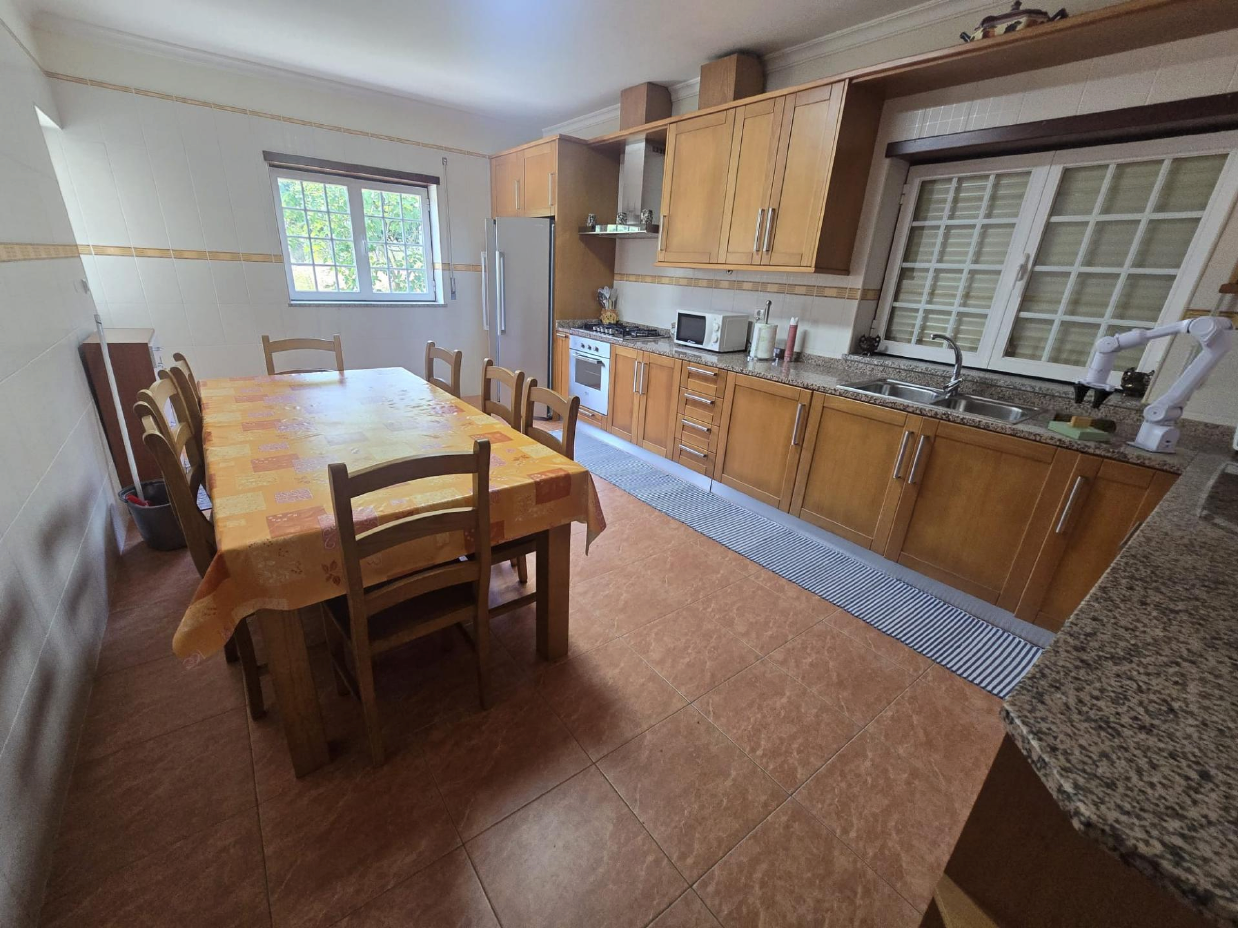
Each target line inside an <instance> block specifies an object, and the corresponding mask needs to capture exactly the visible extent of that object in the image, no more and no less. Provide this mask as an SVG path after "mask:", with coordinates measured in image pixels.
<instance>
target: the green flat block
mask: <svg viewBox="0 0 1238 928" xmlns="http://www.w3.org/2000/svg"><path fill="white" fill-rule="evenodd" d="M1069 425H1070V422H1062V421H1053V420H1050V421H1049V423H1048V425H1047V430H1051V431H1053V432H1055V433H1058V434H1061V435H1063V436H1067V437H1070V438H1072V439H1075V440H1079V441H1081V440H1082V441H1095V442H1107V439H1108V437H1109V435H1110V433H1109V432H1107V431H1102V430H1097V429H1094V428H1093V427H1090V426H1089V428H1083V427H1071V426H1069Z"/></svg>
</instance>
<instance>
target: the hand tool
mask: <svg viewBox="0 0 1238 928" xmlns="http://www.w3.org/2000/svg"><path fill="white" fill-rule="evenodd" d="M1073 416H1075V415H1073V414H1070V413H1061V412H1059V411H1056V412H1055V413H1054V415H1053V417H1052V418H1053V419H1052V421H1057V422H1071V419H1072V417H1073ZM1076 416H1077V415H1076ZM1077 417H1079V416H1077ZM1091 419H1092V420H1091V423H1090V425H1089V427H1093V428H1094V429H1097V430H1100V431H1103V432H1112V433H1115V432H1116V431H1117V427H1118V426H1117V423H1116V421H1115V420H1113V419H1108V418H1101V417H1097V418H1091Z"/></svg>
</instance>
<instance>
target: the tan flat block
mask: <svg viewBox="0 0 1238 928" xmlns="http://www.w3.org/2000/svg"><path fill="white" fill-rule="evenodd" d="M1092 419H1093V418H1092V417H1084V416H1078V417H1077V415H1074V416H1073V417H1072V419H1071V422H1070V425H1069V426H1071V427H1083V428H1089V427H1090V426H1089V425H1090V423H1091V420H1092Z"/></svg>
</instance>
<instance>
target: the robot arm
mask: <svg viewBox="0 0 1238 928" xmlns="http://www.w3.org/2000/svg"><path fill="white" fill-rule="evenodd" d="M1235 330H1236V327H1235V325H1234V323H1233V322H1232V320H1231V319H1230V318H1228V317H1225V316H1211V315H1203V316H1199V317H1193V318H1192V317H1191V318H1188V319H1184V320H1181V321H1177V322H1174V323H1170V324H1166V325H1164V326H1163V325H1162V326H1159V327H1156V328H1152V329H1149V330H1147V329H1146V328H1139V327H1136V328H1135V327H1134V328H1132V329H1131V331H1127V332H1124V333H1123V332H1122V333H1120V332H1118V333H1115V335H1114V336H1110V335H1105V336H1104V337H1101V338H1099V339H1098V340H1097V341H1096V343H1095V349H1096V353H1095V355H1094V358H1093V360H1092V363H1091V365H1090V369H1089V371H1088V373H1087V375H1086V378H1080V377H1077V378H1076V380H1075V384H1073V385H1072V388H1073V390H1074V404H1076V405H1082V404H1083V402H1084V401H1085V398H1086V396H1087V395H1088V393H1089V391H1090V390H1091V389H1092V388H1094V389H1093V401H1092V403H1091V409H1093V410H1099V409H1100V407H1101V406H1102V405H1103V404H1104V403H1105V401H1106V400H1107V399H1109V397H1111V396H1112V395H1114V394H1115V388H1116V385H1114V384H1110V383H1107V382H1108V380H1109V377H1110V374H1111V371H1112V369H1113V367H1114V364H1115V361H1116V359H1117V357H1118V354H1119V353H1120V352H1122V351H1125V350H1129V349H1133V348H1137V347H1142V346H1145V345H1147V344H1149V343H1150V342H1151V340H1155V339H1160V338H1164V337H1170V336H1173V335H1178V334H1191V335H1192V336H1193V337H1194V338H1196V339H1197V340H1198V341H1199V343H1200V345H1201V347H1202V351H1201V352H1199V354H1198V355H1197V356H1196V358H1195V359H1194V360H1193V361H1192V362H1191V364H1190V365H1189V366H1188V367H1187V369H1186V370H1184V372H1183V373H1182V374H1181V375H1180V377H1179V378H1177V380H1176V381H1175V383H1173V385H1172V386H1171V387H1170V388H1169V390H1168V391H1167V392H1166V393H1165V394H1163V395H1162V396H1160V397H1159V398H1158V399H1156V400H1155V401H1154V402H1153V403H1152V404H1150V405H1148V406H1146V407H1145V408H1144V410H1143V413H1142V414H1143V418H1144V419H1143V422H1142V424H1141V426H1140V428H1139V431H1138V433H1137V435H1136V438H1135V440H1134V441H1126V444H1127V445H1131V446H1133V447H1136V448H1140V449H1143V450H1146V451H1148V452H1155V453H1170V454H1175V450H1174V449H1175V447H1176V445H1177V443H1178V441H1179V439H1180V436H1181V431H1180V429H1178V428H1176V427H1175V426H1174V425H1175V421H1178V420H1180V418H1182V416H1183V415H1184V410H1185V408H1186V407H1187V406H1188V399H1189V398H1190V397H1191V396H1192V395H1193V394H1194V392H1195V391H1196V390H1197V389H1198V388H1199V386H1200V385H1202V383H1203V382H1204V381H1205V380H1206V379H1207V377H1208V376H1209V375H1210V374H1211V373H1212V372H1213V370H1215V368H1216V367H1217V366H1218V365H1219V364H1220V363H1221V362H1222V361H1223V359H1224V358H1225V357H1226V356H1227V354H1229V353H1230V352H1231V349H1232V344H1233V336H1234V332H1235Z"/></svg>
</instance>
